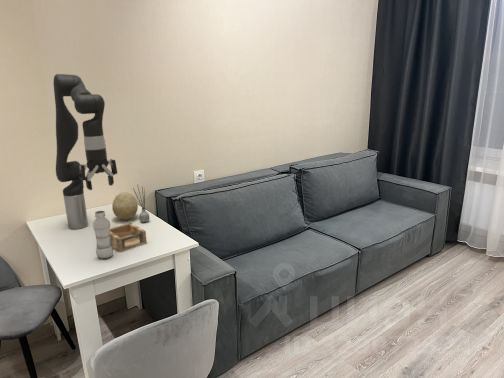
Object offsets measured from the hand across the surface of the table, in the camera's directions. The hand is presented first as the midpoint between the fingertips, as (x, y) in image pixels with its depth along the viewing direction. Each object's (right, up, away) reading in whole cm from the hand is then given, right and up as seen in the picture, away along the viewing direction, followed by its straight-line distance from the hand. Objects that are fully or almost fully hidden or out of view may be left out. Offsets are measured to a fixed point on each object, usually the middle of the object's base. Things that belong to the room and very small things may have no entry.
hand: (100, 187), depth 150 cm
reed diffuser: (+4, -18, +45) cm, 49 cm away
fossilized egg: (-6, -17, +49) cm, 53 cm away
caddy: (+3, -25, +21) cm, 33 cm away
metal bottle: (-1, -29, +7) cm, 30 cm away
